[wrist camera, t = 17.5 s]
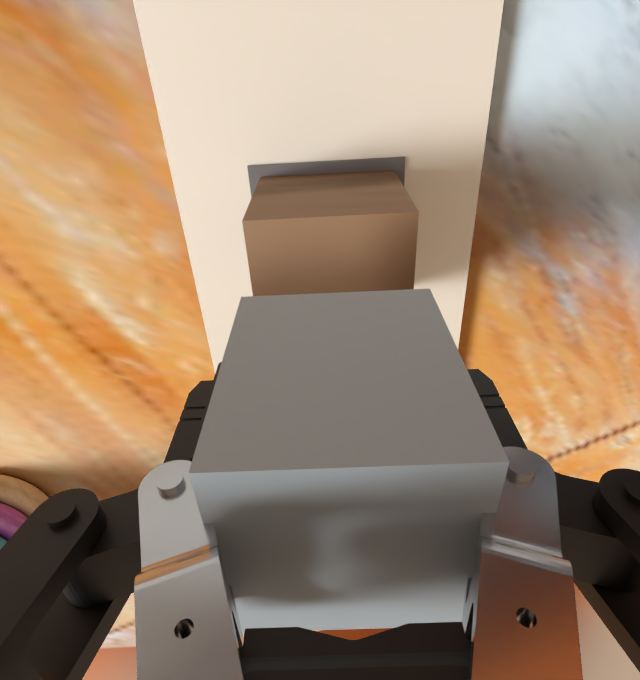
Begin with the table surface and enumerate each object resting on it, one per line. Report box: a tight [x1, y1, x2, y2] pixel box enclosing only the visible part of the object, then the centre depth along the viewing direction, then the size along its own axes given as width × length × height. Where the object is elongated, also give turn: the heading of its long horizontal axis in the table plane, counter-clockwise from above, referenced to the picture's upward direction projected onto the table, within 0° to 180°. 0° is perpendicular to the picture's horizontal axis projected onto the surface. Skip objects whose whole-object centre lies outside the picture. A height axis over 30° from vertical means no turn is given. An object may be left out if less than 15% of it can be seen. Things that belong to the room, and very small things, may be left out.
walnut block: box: [242, 170, 419, 296], centre depth 20 cm, size 6×6×6 cm
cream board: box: [133, 0, 504, 374], centre depth 23 cm, size 20×14×1 cm
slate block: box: [188, 289, 509, 632], centre depth 11 cm, size 5×5×6 cm
